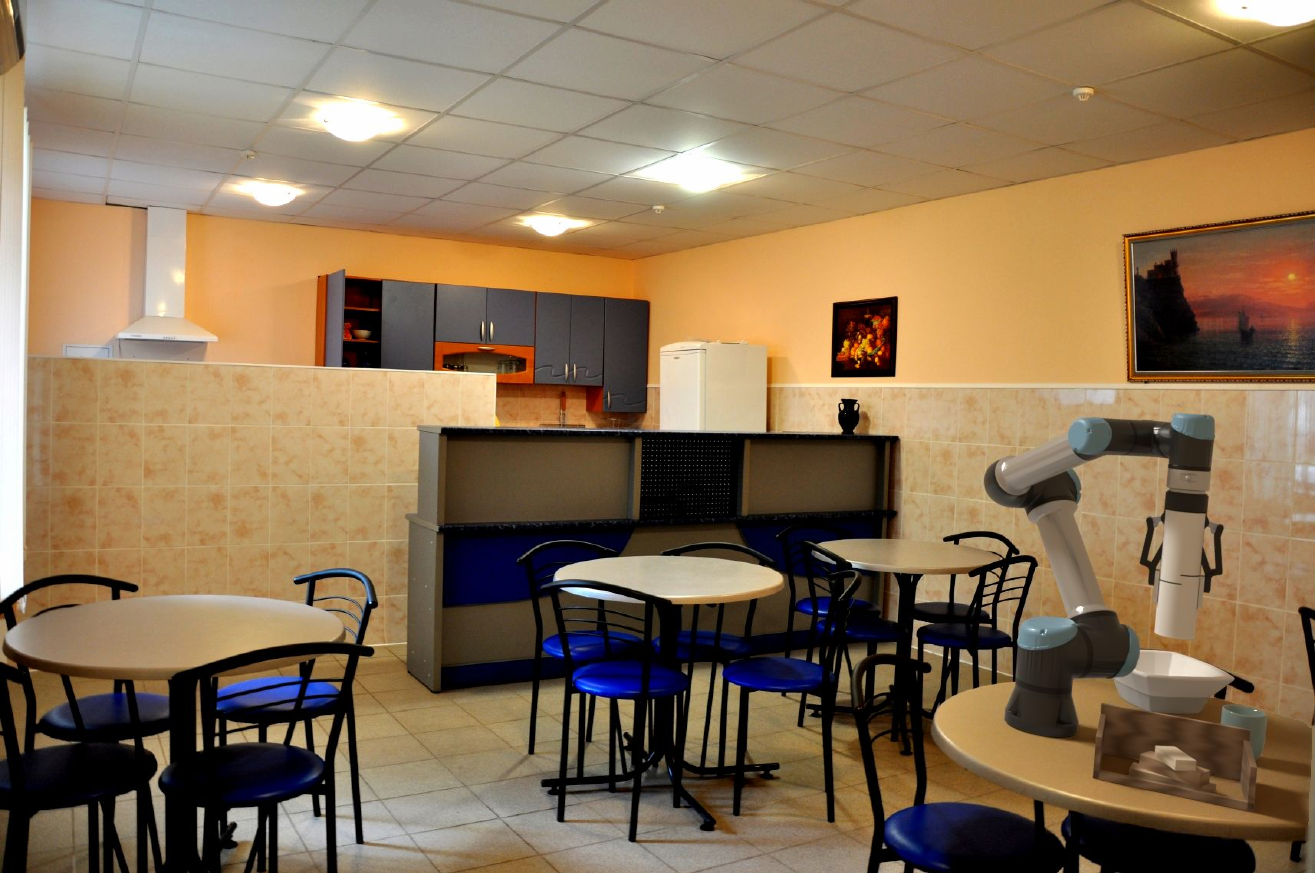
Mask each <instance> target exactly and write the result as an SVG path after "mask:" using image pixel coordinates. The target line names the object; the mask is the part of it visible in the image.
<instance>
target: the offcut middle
mask: <svg viewBox="0 0 1315 873" xmlns="http://www.w3.org/2000/svg"><path fill="white" fill-rule="evenodd" d="M1138 763H1139V767H1140V768H1143V769H1146V770H1148V771H1151V772H1154V773H1157V774H1160V775H1163V776H1166V777H1169V778H1171V779H1174V780H1177V781H1180V782H1183V783H1186V784H1189V785H1192V786H1194V787H1197V788H1200V787H1203V786H1205V785H1207V784H1209V781H1210V778H1211V777H1210V776H1211V775H1210V770H1207V769H1204V768H1201V767H1198V766H1196V771H1175V770H1174V769H1172V768H1171V767H1169V766H1168V765H1167V764H1165V763H1164V762H1162V761H1161V760H1160V759H1158V758H1157V757H1155V752H1153V751H1148V752H1145V753H1142V754H1140V759H1139V760H1138Z"/></svg>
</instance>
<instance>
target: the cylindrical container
mask: <svg viewBox="0 0 1315 873" xmlns="http://www.w3.org/2000/svg"><path fill="white" fill-rule="evenodd" d="M1165 512H1166V513H1165V523H1164V524H1163V531H1162V542H1163V549H1162V558H1161V560H1160V562H1159V564H1160V566H1159V569H1160V575H1159V586H1158V598H1157V603H1156V610H1155V611H1156V612H1155V623H1154V634H1156V635H1159V636H1161V637H1164V638H1168V639H1175V640H1183V641H1192V640H1195V638H1196V632H1197V618H1198V609H1197V608H1198V597H1199V586H1200V575H1202V565H1201V556H1202V546H1203V547H1204V541H1205V530H1206V528H1205V529H1204V525H1205V516H1206V513H1189V512H1180V511H1173V510H1167V509H1166V511H1165ZM1162 542H1161V543H1162Z"/></svg>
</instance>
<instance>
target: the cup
mask: <svg viewBox="0 0 1315 873" xmlns="http://www.w3.org/2000/svg"><path fill="white" fill-rule="evenodd" d="M1220 724H1223V725H1229V726H1235V727H1240V728H1246V729H1250V744H1251V748H1252V751H1253V755H1254V758H1255V762H1256V761H1257V760H1259V759H1260V757H1262V754H1263V752H1264V749H1265V742H1266V735H1267V724H1268V715H1267V713H1266V712H1264V711H1263V710H1261V709H1258V708H1254V707H1250V706H1247V705H1240V704H1225V705H1223V706H1222V707H1221V714H1220Z"/></svg>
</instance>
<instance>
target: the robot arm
mask: <svg viewBox="0 0 1315 873" xmlns="http://www.w3.org/2000/svg"><path fill="white" fill-rule="evenodd" d="M1215 422H1216V421H1215V417H1214V416H1213V415H1211V414H1202V413H1201V414H1199V413H1197V414H1196V413H1183V412H1182V413H1181V412H1176V413H1174V414H1173V415H1172V417H1171V421H1170V422H1169V421H1161V420H1153V419H1126V418H1124V419H1123V418H1109V417H1107V418H1106V417H1099V416H1097V417H1096V416H1089V417H1079V418H1077V419H1076V420H1074V421H1073V422H1072V424H1071V426H1070V427H1069V428H1068V431H1067V432H1066V433H1063V434H1061V435H1059V436H1057V437H1055V438H1053V439H1051V440H1050V439H1049V440H1048V441H1046V442H1044V443H1042V444H1039V445H1038V446H1035V447H1033V448H1032V449H1028V450H1027V451H1025V452H1022V453H1021V454H1019V455H1005V456H1004V457H1002V458H999V459H997V460H995V461H993V463H991V464H990V465H989V466H988V468H987V469H986V470H985V473H984V475H983V486H984V490H985V492H986V494H987V496H988V497H989V498H990V499H991V500H992V501H993V502H995V504H997V505H999V506H1002V507H1005V508H1010V509H1024V511H1025V513H1026V516H1027V519H1028V521H1029V522H1030V523H1032V524H1035V525H1036V526H1037V529H1038V531H1039V535H1040V538H1041V542H1042V543H1043V547H1044V550H1045V553H1046V555H1047V556H1046V557H1047V558H1048V562H1049V565H1050V567H1051V571H1052V574H1053V577H1054V579H1055V583H1056V585H1057V589H1058V592H1059V594H1060V598H1061V601H1062V605H1063V607H1064V610H1065V613H1066V617H1060V616H1049V615H1046V616H1044V615H1043V616H1036V617H1030V618H1027V619H1025V620H1024V621H1023V622H1021V625H1020V626H1019V631H1018V638H1017V640H1016V642H1017V651H1016V652H1017V654H1016V668H1015V681H1014V688H1013V690H1012V693H1010V694H1011V695H1010V697H1009V699H1008V701H1007V704H1006V707H1004V708H1005V709H1004V716H1003V718H1004V719H1003V720H1004V721H1005V722H1006V724H1008V725H1009V726H1011V727H1013V728H1015V729H1017V730H1019V731H1023V732H1026V733H1030V734H1034V735H1039V736H1045V737H1053V738H1054V737H1055V738H1062V737H1063V738H1064V737H1066V738H1067V737H1072V736H1075V735H1077V734H1078V732H1079V722H1080V721H1079V718H1078V714H1077V710H1076V709H1077V708H1076V706H1075V702H1074V699H1073V684H1074V679H1106V680H1113V678H1117V677H1124V676H1127V675H1129V674H1130V673H1131V672H1132V671H1133V670H1134V669H1135V667H1136V665H1137V663H1138V659H1139V656H1140V650H1141V644H1140V640H1139V637H1138V634H1137V632H1136V630H1134V629H1133V628H1132V627H1130V626H1129V625H1127V624H1125V623H1121V622H1120V620H1119V617H1118V613H1117V612H1116V610H1114V609H1112V608H1110V607H1108V606H1107V604H1106V602H1105V599H1104V596H1103V593H1102V590H1101V588H1100V585H1099V581H1098V580H1097V579H1098V578H1097V576H1096V574H1095V571H1094V568H1093V566H1092V562H1091V560H1090V557H1089V554H1088V552H1087V548H1086V546H1085V543H1084V541H1083V540H1084V539H1083V537H1082V535H1081V532H1080V528H1079V526H1078V524H1077V523H1078V522H1077V521H1076V518H1075V513H1076V512H1077V510H1078V506H1079V505H1078V504H1079V503H1080V501H1081V498H1082V493H1081V491H1082V483H1081V480H1080V478H1079V475H1078V474H1077V472H1076V471H1075V469H1074V468H1077V467H1080V466H1082V465H1085V464H1086V463H1089V462H1092V461H1094V460H1097V459H1099V458H1102V457H1104V456H1105V457H1106V456H1121V457H1122V456H1127V457H1144V458H1145V457H1146V458H1147V457H1149V458H1158V459H1159V458H1160V459H1168V464H1167V473H1166V474H1167V475H1166V483H1165V485H1166V489H1167V488H1168V490H1166V491H1165V495H1164V506H1163V508H1164V509H1163V513H1162V514H1161V515H1159V516H1151V515H1149V516H1147V517H1146V519H1145V522H1146V528H1147V530H1146V533H1145V537H1144V542H1143V546H1142V549H1141V550H1142V551H1141V555H1140V560H1139V564H1140V565H1141V566H1144V567H1146V568H1147V569H1148V580H1147V583H1148V586H1153V592H1152V593H1153V595H1152V604H1157V598H1158V586H1159V575H1160V568H1157V566H1158V565H1159V564H1160V563H1161V558H1162V549H1163V542H1161V543H1160V545H1159V547H1158V549H1157V551H1156V552H1155V554H1154V556H1153V558H1152V560H1149V558H1148V557H1149V554H1150V551H1151V546H1152V543H1153V542H1152V541H1153V537H1154V534H1155V533H1154V532H1155V528H1158V527H1159V523H1162V524H1163V525H1164V523H1165V513H1166V512H1165V511H1166V509H1167V510H1173V511H1180V512H1189V513H1206V516H1205V525H1204V529H1205V530H1206V529H1207V528H1209V530H1210V533H1211V534H1213V547H1214V548H1213V549H1214V566H1215V568H1211V566H1210V563H1209V560H1208V557H1207V554H1206V551H1205V548H1204V545H1203V546H1202V556H1201V569H1202V570H1203V572H1204V574H1201V575H1200V586H1199V597H1198V608H1197V610H1201V611H1202V609H1203V601H1204V600H1203V599H1204V594H1205V593H1206V594H1210V592H1211V586H1212V578H1213V577H1215V576H1216V577H1217V576H1222V574H1223V573H1224V570H1223V569H1224V568H1223V555H1222V554H1223V552H1222V538H1221V537H1222V534H1223V532H1224V529H1225V526H1224V525H1223V524H1222V523H1216V522H1213V521H1210V519H1209V518H1208V509H1209V500H1210V499H1209V496H1210V495H1208V493H1206V492H1209V491H1210V486H1211V479H1212V478H1211V475H1212V463H1213V452H1214V446H1215V445H1214V443H1215V438H1216V435H1215V433H1216V431H1215V430H1216V428H1215V426H1216V425H1215V424H1216V423H1215Z"/></svg>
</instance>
